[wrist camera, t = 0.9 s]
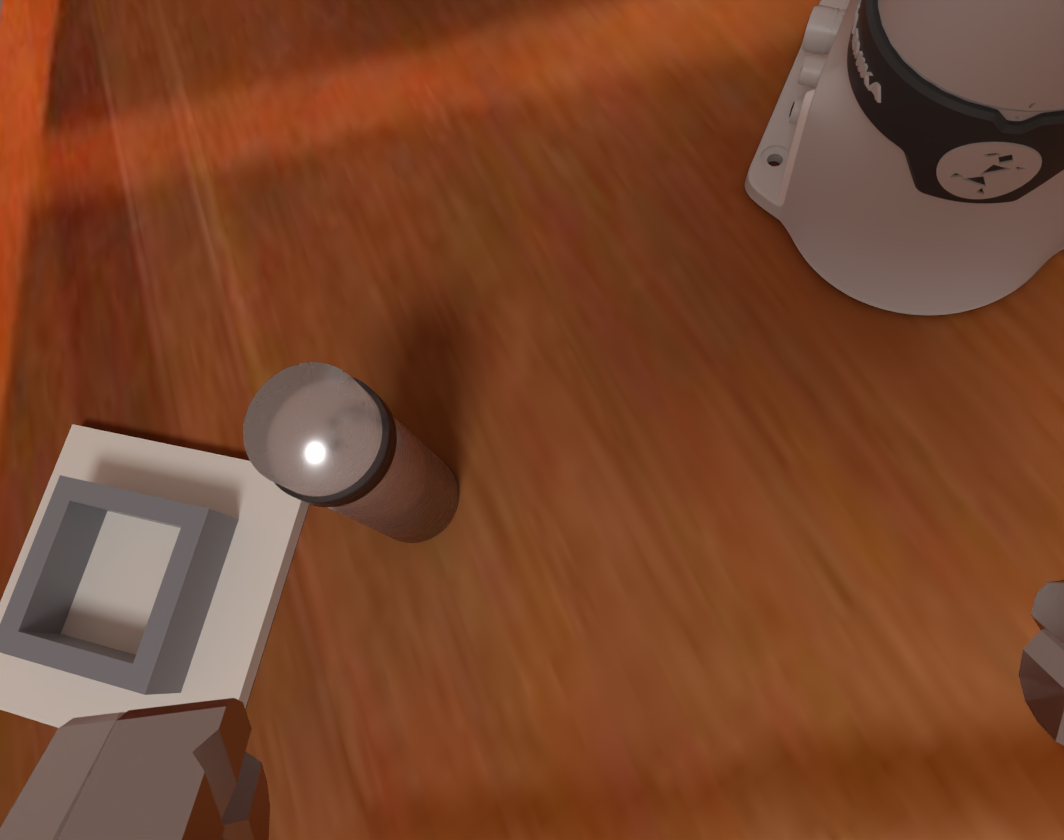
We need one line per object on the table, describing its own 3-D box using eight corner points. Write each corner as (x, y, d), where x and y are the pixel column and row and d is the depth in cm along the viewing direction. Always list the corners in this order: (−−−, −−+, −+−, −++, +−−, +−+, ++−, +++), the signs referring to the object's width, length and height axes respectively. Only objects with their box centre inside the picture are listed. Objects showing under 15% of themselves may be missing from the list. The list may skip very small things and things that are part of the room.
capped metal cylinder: (383, 443, 44) (264, 348, 31) (473, 460, 43) (387, 369, 30) (356, 535, 43) (219, 477, 30) (448, 556, 42) (347, 504, 28)
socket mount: (84, 429, 48) (34, 408, 44) (317, 477, 44) (285, 459, 40) (-24, 696, 44) (-89, 699, 40) (225, 773, 40) (179, 784, 36)
